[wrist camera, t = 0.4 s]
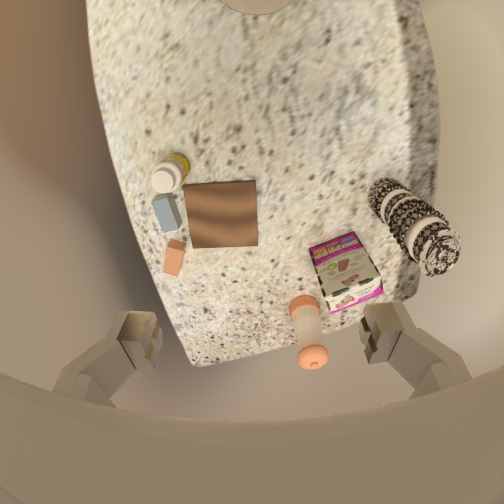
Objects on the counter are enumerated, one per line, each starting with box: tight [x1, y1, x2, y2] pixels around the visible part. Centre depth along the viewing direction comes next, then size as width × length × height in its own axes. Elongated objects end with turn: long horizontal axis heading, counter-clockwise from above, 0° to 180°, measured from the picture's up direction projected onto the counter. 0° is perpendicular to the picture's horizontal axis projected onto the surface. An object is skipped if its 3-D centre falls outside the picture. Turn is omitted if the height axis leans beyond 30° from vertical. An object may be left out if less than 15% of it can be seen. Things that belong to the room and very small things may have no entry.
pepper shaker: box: [290, 296, 329, 369], centre depth 62 cm, size 7×7×19 cm
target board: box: [183, 180, 258, 248], centre depth 56 cm, size 14×14×1 cm
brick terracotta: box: [163, 239, 186, 276], centre depth 61 cm, size 7×4×4 cm, turn 162°
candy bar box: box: [309, 232, 384, 314], centre depth 54 cm, size 11×5×16 cm, turn 115°
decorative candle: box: [366, 176, 461, 276], centre depth 43 cm, size 9×9×25 cm
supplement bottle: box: [151, 153, 190, 193], centre depth 47 cm, size 6×6×10 cm
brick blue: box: [152, 192, 182, 233], centre depth 55 cm, size 7×4×4 cm, turn 13°
